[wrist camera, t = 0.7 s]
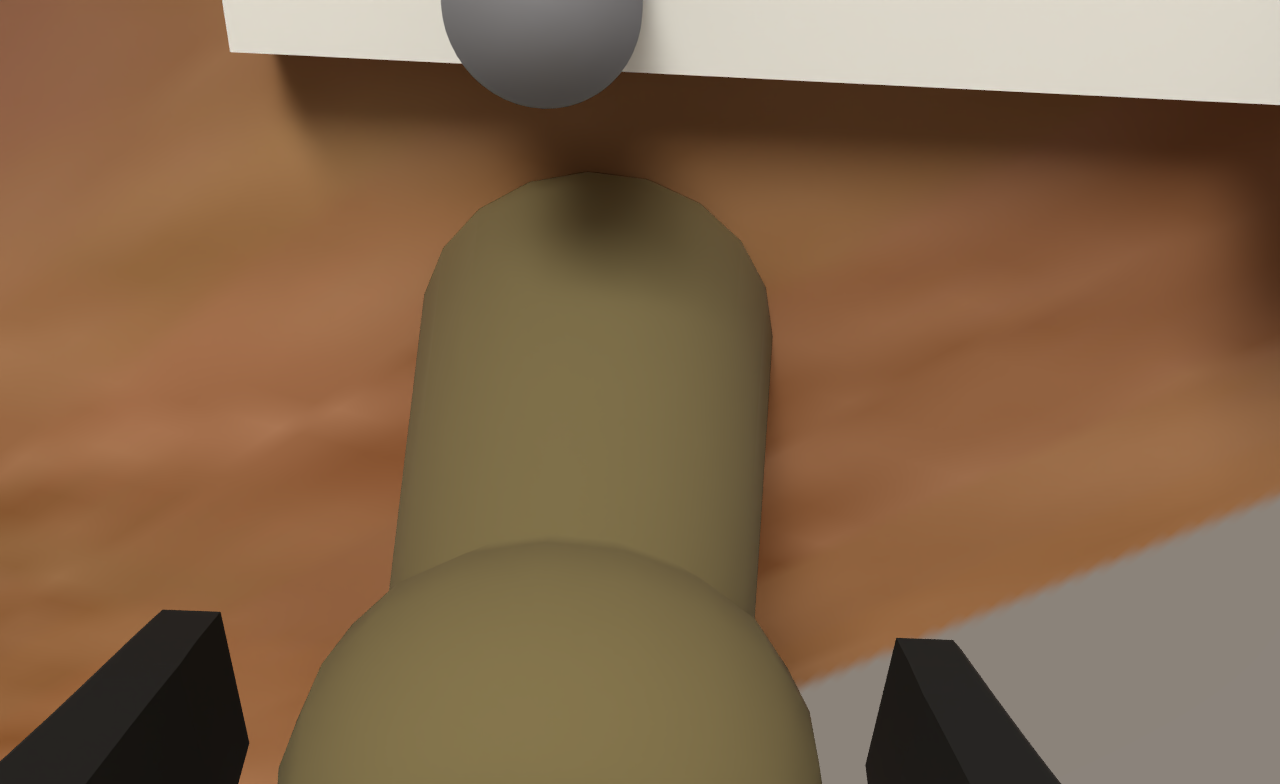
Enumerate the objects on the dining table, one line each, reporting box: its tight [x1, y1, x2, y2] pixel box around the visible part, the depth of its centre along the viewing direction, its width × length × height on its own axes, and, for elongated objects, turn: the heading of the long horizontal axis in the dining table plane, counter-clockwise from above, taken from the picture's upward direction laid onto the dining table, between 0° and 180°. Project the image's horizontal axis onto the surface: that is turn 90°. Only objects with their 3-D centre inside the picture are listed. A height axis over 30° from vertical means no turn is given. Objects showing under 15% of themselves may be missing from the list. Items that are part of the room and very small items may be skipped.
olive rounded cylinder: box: [278, 172, 822, 784], centre depth 13 cm, size 6×6×11 cm
